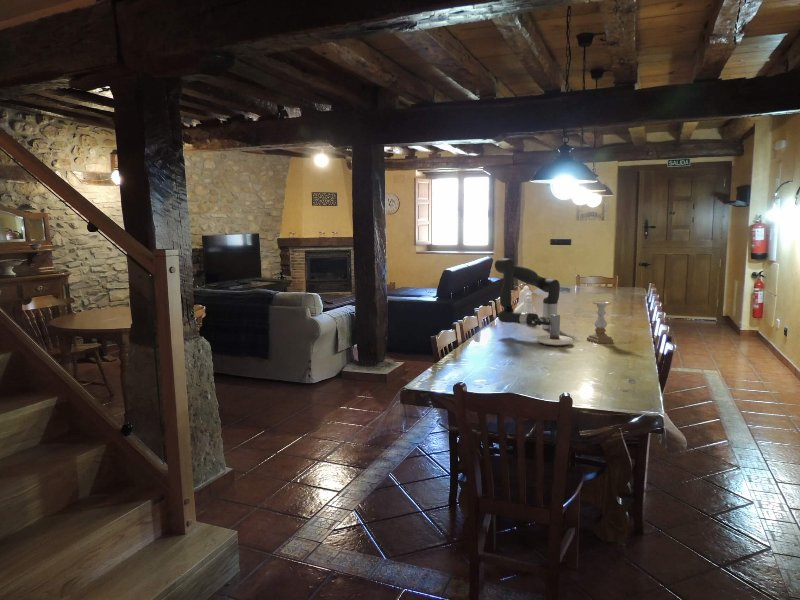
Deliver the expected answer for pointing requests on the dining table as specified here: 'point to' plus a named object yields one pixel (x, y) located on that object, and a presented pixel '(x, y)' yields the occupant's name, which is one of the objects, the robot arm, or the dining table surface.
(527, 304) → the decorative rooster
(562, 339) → the disc
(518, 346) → the dining table surface
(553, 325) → the cup
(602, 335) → the candle holder
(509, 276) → the robot arm
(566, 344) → the turntable base
